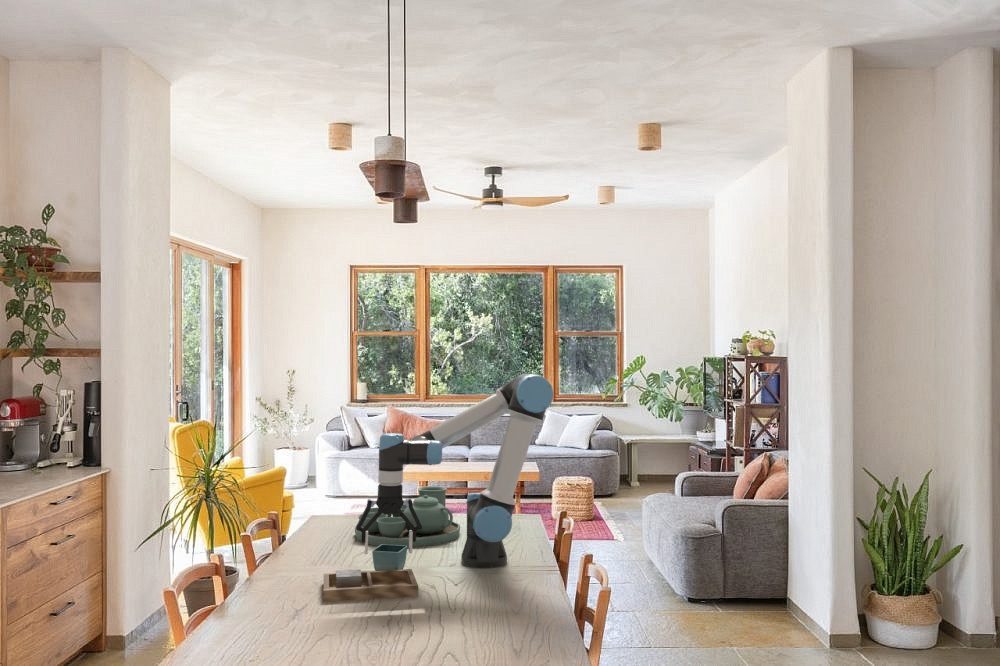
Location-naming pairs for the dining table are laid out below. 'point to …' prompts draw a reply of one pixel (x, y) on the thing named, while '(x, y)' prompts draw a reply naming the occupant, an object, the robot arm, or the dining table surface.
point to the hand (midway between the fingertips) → (388, 552)
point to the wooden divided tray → (373, 586)
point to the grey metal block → (348, 578)
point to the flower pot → (389, 557)
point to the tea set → (429, 515)
